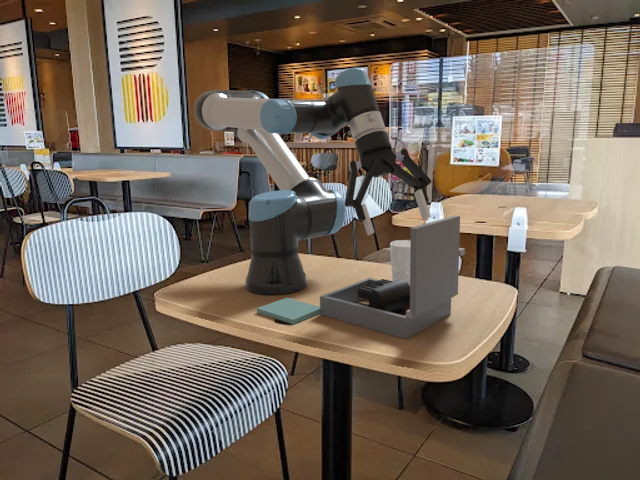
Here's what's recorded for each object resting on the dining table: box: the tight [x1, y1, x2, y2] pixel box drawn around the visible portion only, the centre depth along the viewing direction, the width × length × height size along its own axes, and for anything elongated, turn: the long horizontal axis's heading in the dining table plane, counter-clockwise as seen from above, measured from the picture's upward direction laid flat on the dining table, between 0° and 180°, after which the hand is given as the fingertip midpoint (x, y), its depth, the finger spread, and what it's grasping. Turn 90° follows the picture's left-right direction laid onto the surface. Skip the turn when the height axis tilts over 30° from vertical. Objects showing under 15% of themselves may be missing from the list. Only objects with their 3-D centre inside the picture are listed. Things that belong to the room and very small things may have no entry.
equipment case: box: [319, 215, 466, 340], centre depth 104 cm, size 23×19×21 cm
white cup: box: [389, 239, 410, 284], centre depth 126 cm, size 8×8×10 cm
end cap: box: [357, 278, 410, 313], centre depth 105 cm, size 10×7×7 cm
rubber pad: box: [256, 297, 320, 325], centre depth 108 cm, size 11×9×1 cm
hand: (399, 226), depth 111 cm, fingers open, 13 cm apart
